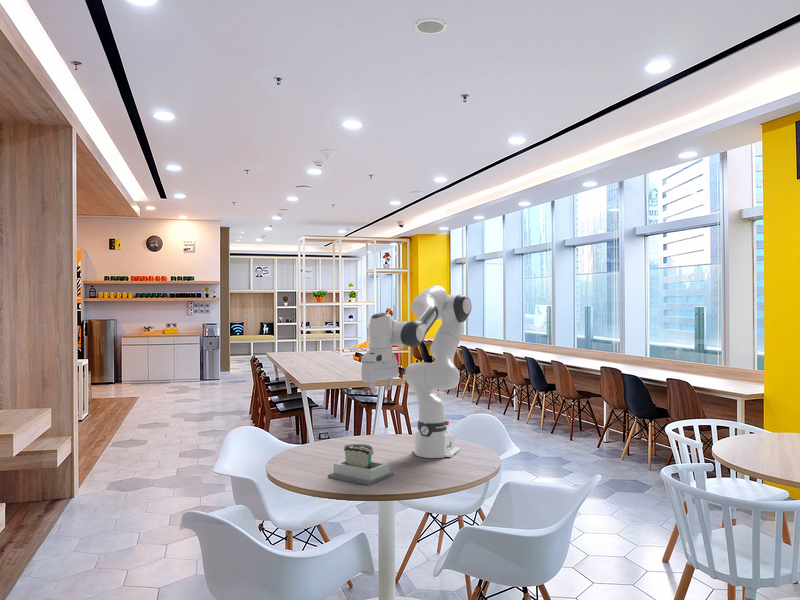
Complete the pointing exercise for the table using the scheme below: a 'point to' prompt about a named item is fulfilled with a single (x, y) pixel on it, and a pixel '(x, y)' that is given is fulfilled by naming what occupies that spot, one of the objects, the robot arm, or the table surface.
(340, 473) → the tray
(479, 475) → the table surface
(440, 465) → the table surface
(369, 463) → the food container
